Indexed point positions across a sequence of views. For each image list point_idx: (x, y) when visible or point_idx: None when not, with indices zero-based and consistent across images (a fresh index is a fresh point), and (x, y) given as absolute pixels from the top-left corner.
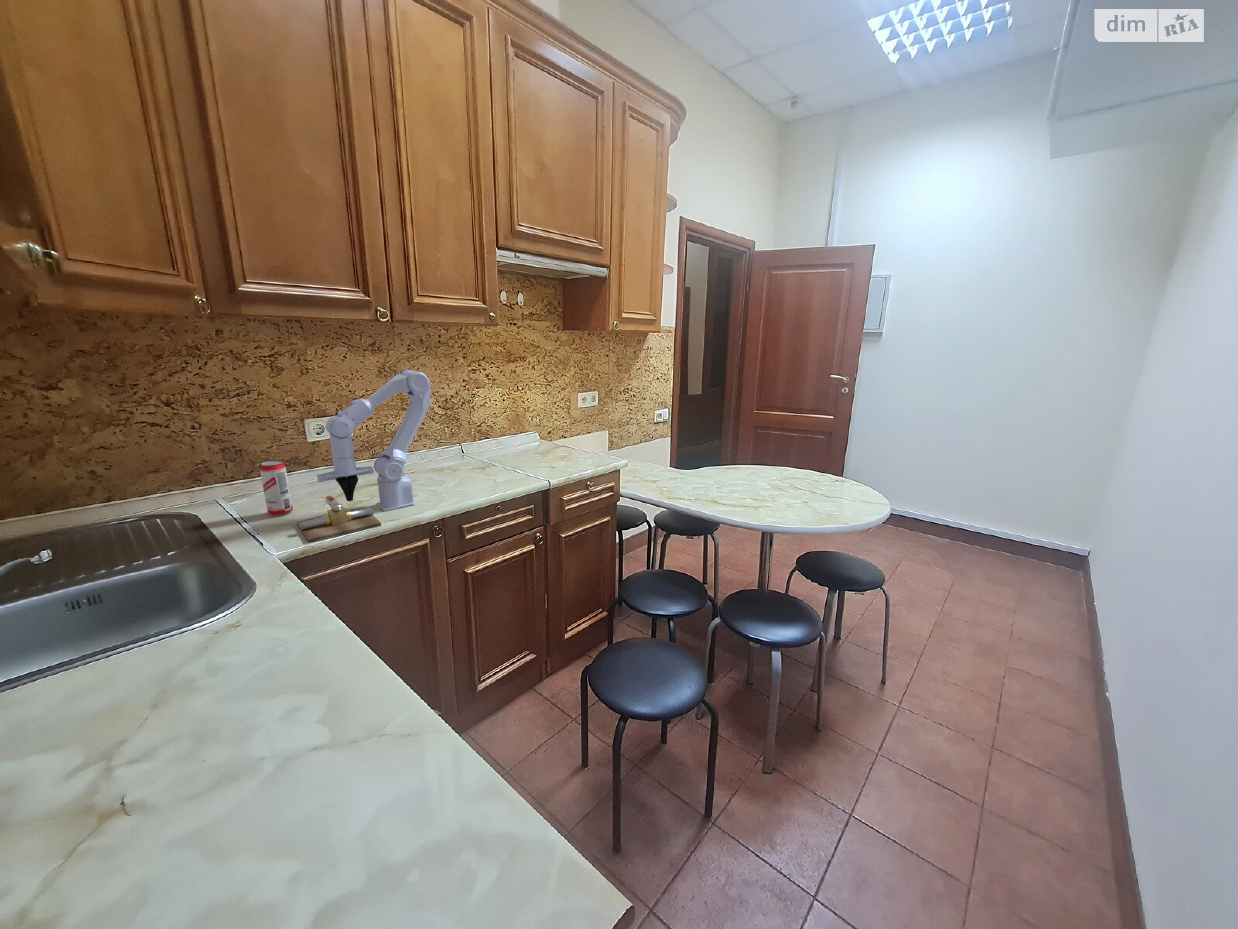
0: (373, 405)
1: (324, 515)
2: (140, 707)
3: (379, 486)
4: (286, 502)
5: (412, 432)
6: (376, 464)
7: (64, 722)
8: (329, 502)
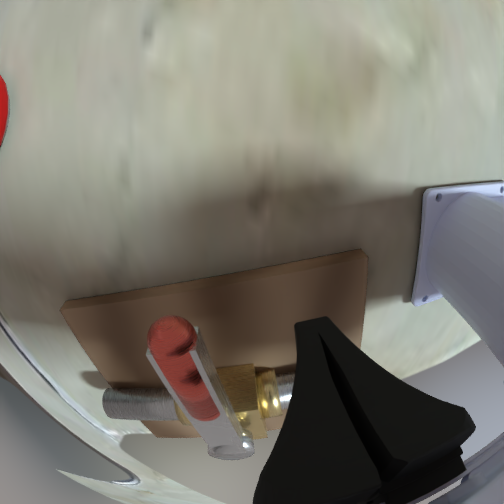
0: None
1: (180, 421)
2: (136, 501)
3: (493, 333)
4: None
5: None
6: None
7: (106, 493)
8: (194, 427)
